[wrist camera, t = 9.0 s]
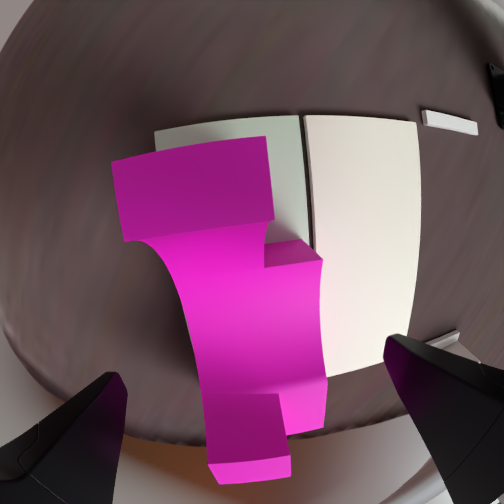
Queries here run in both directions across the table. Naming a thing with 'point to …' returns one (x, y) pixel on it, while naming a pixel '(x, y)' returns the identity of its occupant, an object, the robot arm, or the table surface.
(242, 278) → the toy block
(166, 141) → the game board
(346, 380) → the table surface
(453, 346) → the die
